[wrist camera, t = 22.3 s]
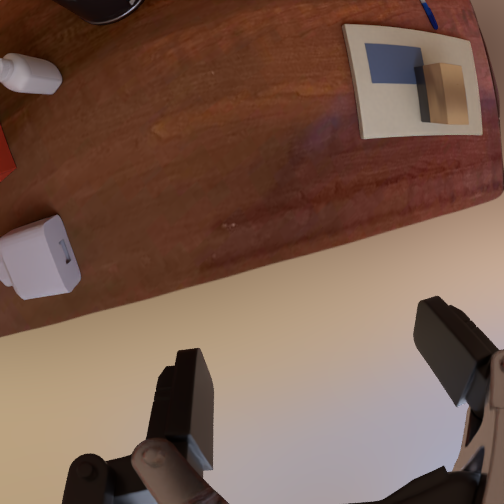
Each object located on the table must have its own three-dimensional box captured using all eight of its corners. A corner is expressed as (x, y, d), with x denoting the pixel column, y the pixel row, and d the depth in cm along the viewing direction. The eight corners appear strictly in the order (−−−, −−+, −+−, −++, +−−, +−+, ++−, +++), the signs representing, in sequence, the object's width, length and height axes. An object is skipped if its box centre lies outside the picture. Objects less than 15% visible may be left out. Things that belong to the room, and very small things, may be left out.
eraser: (413, 67, 28) (439, 62, 23) (434, 69, 28) (461, 65, 23) (421, 121, 31) (448, 124, 26) (441, 121, 31) (469, 125, 26)
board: (341, 25, 27) (344, 23, 26) (465, 41, 27) (470, 40, 26) (360, 138, 32) (364, 139, 32) (478, 134, 32) (483, 135, 31)
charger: (-10, 236, 33) (60, 212, 33) (12, 290, 37) (82, 277, 37) (-28, 249, 29) (41, 224, 29) (-3, 306, 33) (68, 295, 33)
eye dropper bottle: (58, 50, 25) (-1, 33, 14) (65, 88, 27) (4, 82, 16) (31, 66, 25) (-30, 58, 14) (38, 103, 27) (-25, 105, 16)
